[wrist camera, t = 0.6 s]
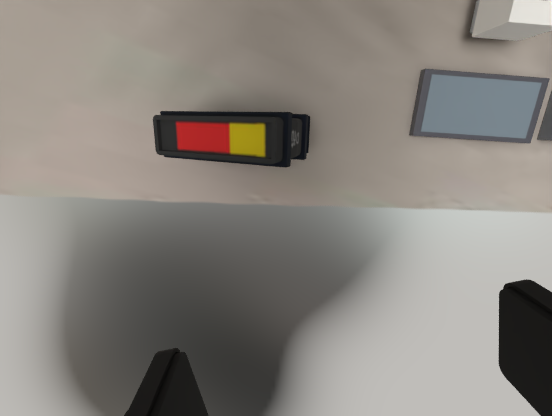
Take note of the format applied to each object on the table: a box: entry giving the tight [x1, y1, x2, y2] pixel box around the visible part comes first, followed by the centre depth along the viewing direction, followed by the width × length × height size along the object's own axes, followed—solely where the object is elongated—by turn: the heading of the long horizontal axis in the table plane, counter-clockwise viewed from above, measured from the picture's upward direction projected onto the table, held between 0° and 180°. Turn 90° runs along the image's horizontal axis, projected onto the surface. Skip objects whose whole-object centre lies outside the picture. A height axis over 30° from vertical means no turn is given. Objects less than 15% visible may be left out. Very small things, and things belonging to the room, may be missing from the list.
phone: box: [409, 69, 549, 143], centre depth 34 cm, size 7×14×1 cm, turn 86°
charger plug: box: [470, 0, 552, 41], centre depth 28 cm, size 5×5×7 cm
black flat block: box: [153, 111, 310, 167], centre depth 29 cm, size 4×13×15 cm, turn 89°
